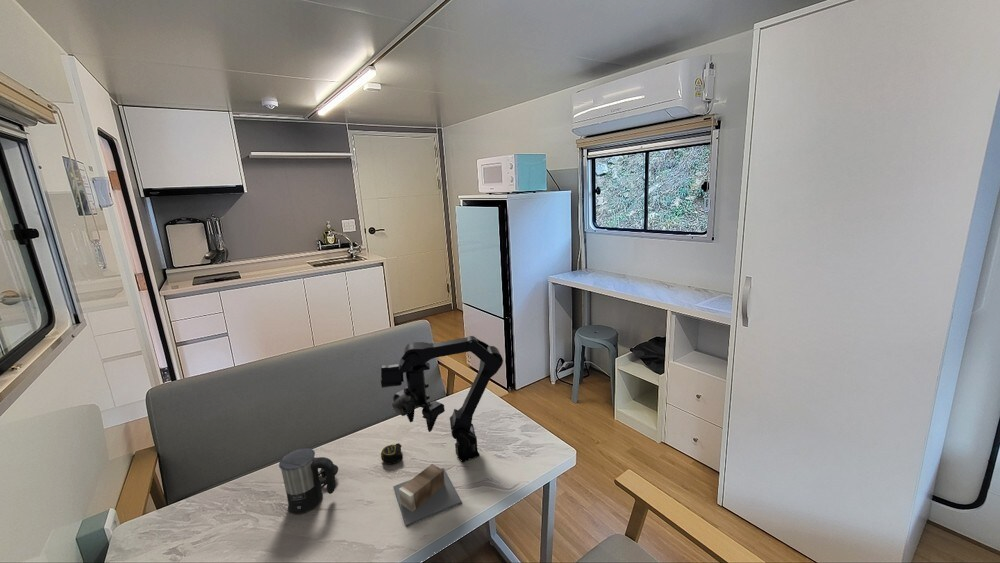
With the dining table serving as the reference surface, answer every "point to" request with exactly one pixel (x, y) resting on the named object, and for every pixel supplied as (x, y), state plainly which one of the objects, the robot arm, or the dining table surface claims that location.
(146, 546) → the dining table surface
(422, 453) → the dining table surface
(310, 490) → the milk frother
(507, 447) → the dining table surface
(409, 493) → the wooden block
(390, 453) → the tape measure
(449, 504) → the charcoal mat
